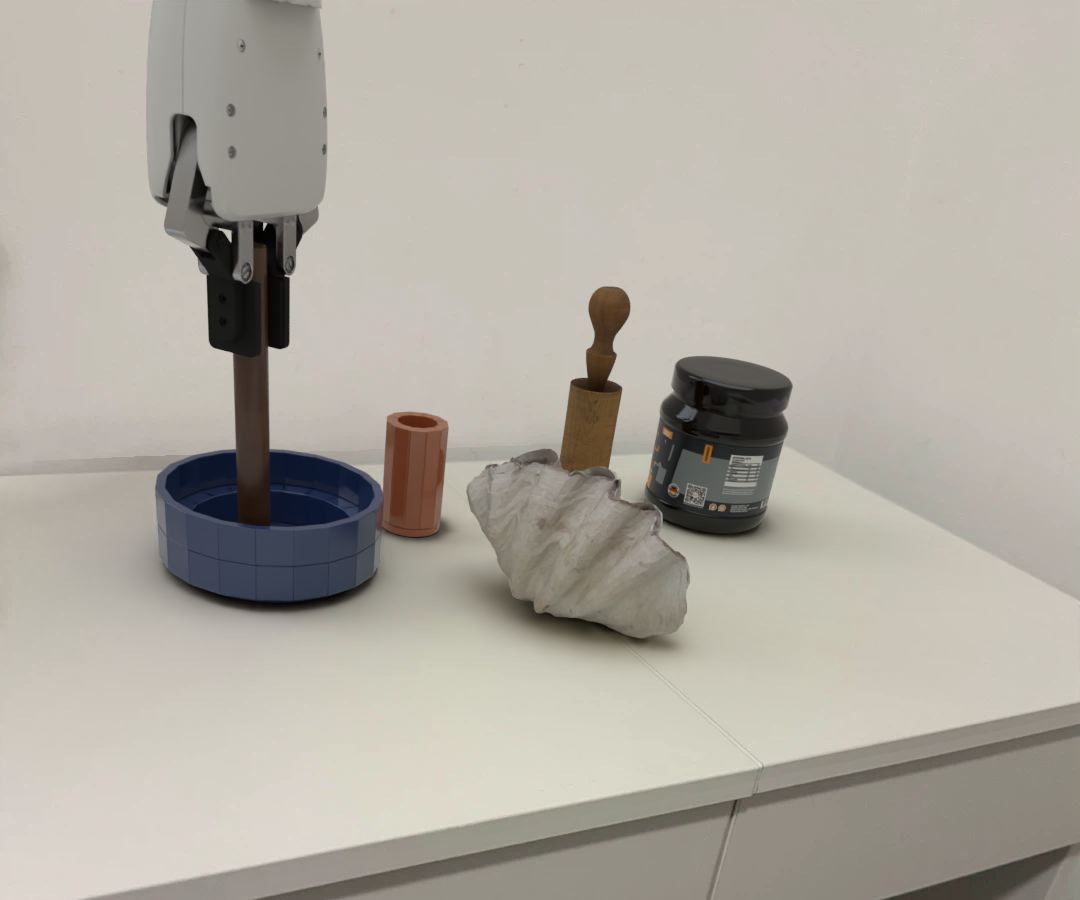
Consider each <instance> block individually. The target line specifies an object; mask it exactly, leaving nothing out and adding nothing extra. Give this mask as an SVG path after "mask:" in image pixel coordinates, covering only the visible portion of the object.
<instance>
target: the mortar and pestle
mask: <svg viewBox="0 0 1080 900" xmlns="http://www.w3.org/2000/svg"><path fill="white" fill-rule="evenodd" d="M630 300H631V299H630V297H629V295H628V294H627V292H626V291H625V290H624V289H623V288H621V287H618V286H607V285H606V286H601V287H598V288H597V289H596V290H594V292H592V294H591V297H590V298H589V301H588V307H587V309H588V315H589V316H588V317H589V319H590V322H591V325H592V328H593V331H594V336H593V337H594V338H593V342H592V345H591V346H590V347H588V348H587V349H586V350H585V365H586V366H585V367H586V375H587V376H586V377H577V378H574V379H571V381H570V383H569V391H568V398H567V406H566V413H565V421H564V427H563V433H562V434H563V435H562V442H561V448H560V455H559V459H560V462H561V467H562V469H564V470H568V471H569V473H572V472H574V471H575V470H577V471H584V470H586V469H588V468H591V467H596V466H599V467H606V468H608V469H610V464H611V457H612V450H613V444H614V439H615V435H616V434H615V433H616V428H617V422H618V418H619V417H618V416H619V410H620V406H621V401H622V400H621V399H622V395H623V386H622V385H620V384H619V383H617V382H615V381H612V380H610V379H609V377H610V375H611V373H612V371H613V368H614V366H615V363H616V361H617V357H618V353H617V352H616V351H615V349H614V341H615V338H616V336H617V334H618V333H619V332H620V331H621V329H622V328H623V326H624V325H626V322H627V320H628V319H629V317H630V314H631V301H630Z"/></svg>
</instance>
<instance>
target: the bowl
mask: <svg viewBox="0 0 1080 900" xmlns="http://www.w3.org/2000/svg"><path fill="white" fill-rule="evenodd" d="M382 491H383V489H382V485H381V484H380V483H379V482H378V481H376V480H375V479H374V478H373V477H372V476H371V475H370V474H368V473H367V472H366V471H363V470H362V469H360V468H357V467H356V466H353V465H351V464H349V463H347V462H344V461H340V460H337V459H334V458H330V457H326V456H323V455H319V454H315V453H308V452H304V451H303V452H302V451H295V450H289V449H277V448H270V505H271V526H254V525H248V524H241V523H238V502H237V470H236V448H233V449H231V448H230V449H220V450H219V449H218V450H213V451H208V452H202V453H197V454H192V455H190V456H187V457H185V458H182V459H179V460H176V461H174V462H171V463H170V464H169V465H167V466H166V467H165V468H164V469H162V470H161V471H160V472H159V473H158V474H157V475H156V480H155V486H154V493H155V510H156V511H155V512H156V523H157V525H156V527H157V538H158V539H157V541H158V555H159V558H160V560H161V561H162V563H163V564H164V566H165V568H166V569H167V571H168V572H170V573H171V574H172V575H174V576H176V577H177V578H179V579H181V580H182V581H184V582H185V583H187V584H189V585H191V586H193V587H196V588H199V589H203V590H205V591H208V592H211V593H214V594H217V595H221V596H224V597H228V598H233V599H236V600H243V601H249V602H255V603H256V602H258V603H272V604H273V603H274V604H275V603H278V604H279V603H296V602H297V603H298V602H299V603H300V602H305V601H306V602H307V601H312V600H313V601H314V600H316V599H320V598H325V597H329V596H330V597H331V596H333V595H336V594H340V593H342V592H345V591H350V590H352V589H354V588H357V587H359V586H360V585H362V584H364V582H365V581H367V580H369V579H371V577H373V576H374V574H375V572H376V570H377V569H378V567H379V566H380V563H381V556H382V555H381V553H382V537H383V535H382V534H383V531H382V530H383V526H382V521H383V503H384V497H383V493H382Z"/></svg>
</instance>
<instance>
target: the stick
mask: <svg viewBox="0 0 1080 900" xmlns="http://www.w3.org/2000/svg"><path fill="white" fill-rule="evenodd" d="M251 281H254V282H258V283H261V348H262V349H261V354H260V355H259V356H256V357H252V358H250V357H246V356H242V355H239V354H235V353H232V367H233V368H232V369H233V397H234V398H233V400H234V402H233V403H234V404H233V405H234V433H235V434H234V435H235V436H234V437H235V449H236V470H237V502H238V523H241V524H248V525H254V526H271V505H270V449H271V445H270V443H271V439H270V438H271V437H270V433H271V431H270V430H271V429H270V372H269V371H270V368H269V367H270V366H269V364H270V363H269V359H270V357H269V347H268V282H267V246H266V245H264V244H261V243H257V242H253V277H252V280H251Z"/></svg>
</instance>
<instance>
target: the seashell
mask: <svg viewBox="0 0 1080 900" xmlns="http://www.w3.org/2000/svg"><path fill="white" fill-rule="evenodd" d="M465 494H466V498H467V503H468V505H469V509H470V512H471V513H472V515H473V516H474V517H475V518H476V520H477V521H478V524H479V526H480V529H481V532H482V533H483V534H484V536H485V537H486V538H487V540H488V541H489V543H490V545H491V547H492V549H493V550H494V553H495V555H496V561H497V564H498V566H499V568H500V570H501V571H502V572H503V574H504V575H505V576H506V577H507V578H508V587H509V590H510V593H511V596H512V597H513V598H515V599H516V600H520V601H529V602H530V601H531V602H532V603H533V610H534V611H535V613H536V614H543V613H548V614H550V615H552V616H553V617H555V618H571V619H575V618H576V619H580V620H583V621H586V622H593V623H597V624H601V625H603V626H606V627H607V628H609V629H611V630H613V631H616V632H618V633H620V634H622V635H624V636H627V637H631V638H636V639H642V640H643V639H646V638H650V637H652V636H658V635H660V636H661V635H671V634H674V633H675V632H677V631H678V630H679V628H680V627H681V626H683V624H684V620H685V616H686V615H687V614H688V602H687V590H688V589H689V586H690V584H691V572H690V566H689V564H688V560H687V558H686V557H685V556H684V555H683V554H682V553H681V552H679V551H678V550H675V549H673V548H672V547H671V546H670V545H669V544H668V543H667V542H666V541H664V540H663V539H662V537H660V535H659V534H660V532H661V528H662V526H663V521H664V520H663V519H664V518H663V516H662V512H661V511H660V510H659V509H658V508H657V506H655V505H654V504H652V503H650V502H647V501H638V502H629V501H627V500H624V499H621V495H622V479H621V478H620V477H618V475H617V473H616V471H614V470H612V469H610V468H609V469H608V468H606V467H599V466H596V467H591V468H588V469H586V470H584V471H577V470H575V471H574V472H572V473H569V471H568V470H564V469H562V467H561V462H560V456H559V455H558V452H557V451H555V450H553V449H552V448H541V449H540V448H539V449H536V450H531V451H528V452H525V453H522V454H520V455H518V456H516V457H510V459H509V461H504V462H503V463H502V464H500V463H493V462H492V463H491V462H490V463H488V464H486V466H485V467H484V469H483V470H482V472H481V473H479V475H477V476H474V477H473V478H472V479H471V480H470V481H469V482H468V483H467V487H466V489H465Z"/></svg>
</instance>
